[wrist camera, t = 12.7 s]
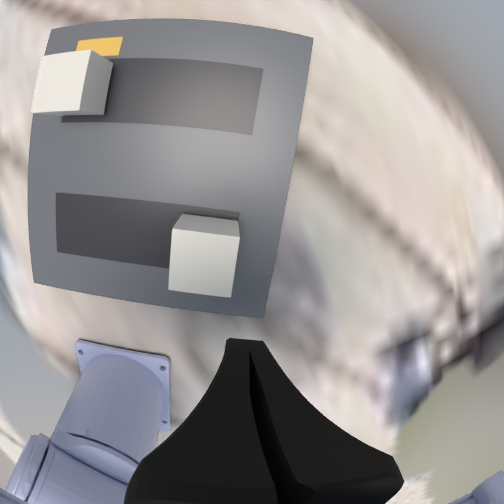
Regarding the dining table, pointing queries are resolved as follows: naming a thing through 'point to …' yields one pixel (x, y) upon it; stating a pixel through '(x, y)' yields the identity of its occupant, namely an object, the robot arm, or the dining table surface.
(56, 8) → the dining table surface
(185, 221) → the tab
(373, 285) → the dining table surface
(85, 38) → the switch box
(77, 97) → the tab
